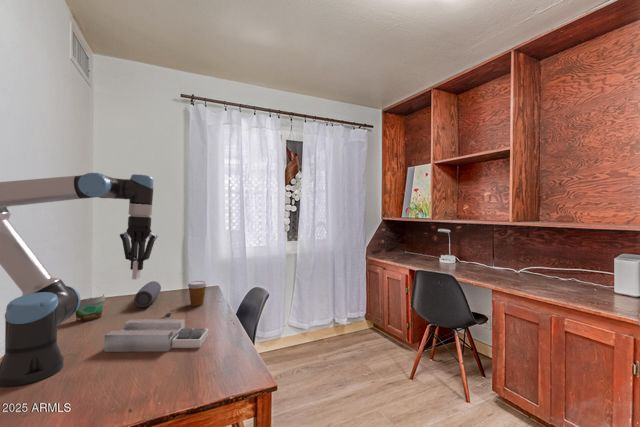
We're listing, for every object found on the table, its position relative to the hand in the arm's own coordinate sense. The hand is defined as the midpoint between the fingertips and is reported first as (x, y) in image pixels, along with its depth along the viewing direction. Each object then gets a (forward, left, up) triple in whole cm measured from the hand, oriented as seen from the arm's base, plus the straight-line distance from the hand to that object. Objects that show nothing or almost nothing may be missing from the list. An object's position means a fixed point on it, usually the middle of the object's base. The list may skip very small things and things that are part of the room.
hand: (136, 278), depth 114 cm
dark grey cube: (+2, -20, -23) cm, 30 cm away
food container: (+28, +34, -25) cm, 51 cm away
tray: (+3, -20, -25) cm, 32 cm away
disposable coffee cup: (+51, -6, -25) cm, 57 cm away
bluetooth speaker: (+54, +21, -25) cm, 63 cm away
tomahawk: (+24, +2, -26) cm, 35 cm away
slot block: (+3, -3, -25) cm, 26 cm away
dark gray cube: (+3, -18, -25) cm, 30 cm away
